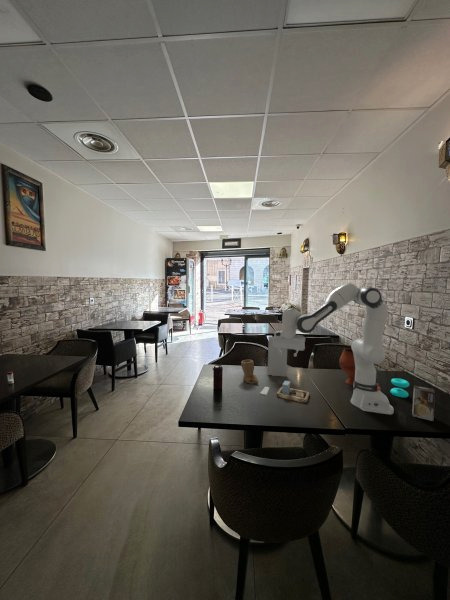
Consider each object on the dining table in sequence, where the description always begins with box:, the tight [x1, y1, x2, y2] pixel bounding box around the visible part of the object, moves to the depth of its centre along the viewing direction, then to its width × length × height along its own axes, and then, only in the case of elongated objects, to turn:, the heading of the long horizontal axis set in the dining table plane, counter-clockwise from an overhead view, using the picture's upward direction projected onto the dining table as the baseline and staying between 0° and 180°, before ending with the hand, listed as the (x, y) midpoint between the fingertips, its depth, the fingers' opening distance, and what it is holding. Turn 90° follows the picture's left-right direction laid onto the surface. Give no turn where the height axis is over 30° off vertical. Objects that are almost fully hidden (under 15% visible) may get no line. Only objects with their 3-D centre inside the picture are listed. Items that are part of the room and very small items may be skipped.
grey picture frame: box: [411, 385, 436, 422], centre depth 141 cm, size 9×6×16 cm
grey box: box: [266, 336, 288, 377], centre depth 200 cm, size 14×6×30 cm, turn 84°
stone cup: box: [241, 359, 259, 385], centre depth 187 cm, size 15×12×15 cm
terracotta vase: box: [338, 347, 355, 386], centre depth 186 cm, size 19×19×25 cm
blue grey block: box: [281, 380, 291, 395], centre depth 162 cm, size 4×7×9 cm, turn 153°
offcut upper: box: [295, 392, 305, 398], centre depth 159 cm, size 4×6×2 cm
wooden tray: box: [276, 386, 310, 404], centre depth 161 cm, size 18×12×4 cm, turn 63°
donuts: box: [389, 378, 410, 399], centre depth 169 cm, size 10×10×10 cm
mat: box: [259, 386, 270, 396], centre depth 169 cm, size 9×12×1 cm
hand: (287, 355), depth 161 cm, fingers open, 8 cm apart
